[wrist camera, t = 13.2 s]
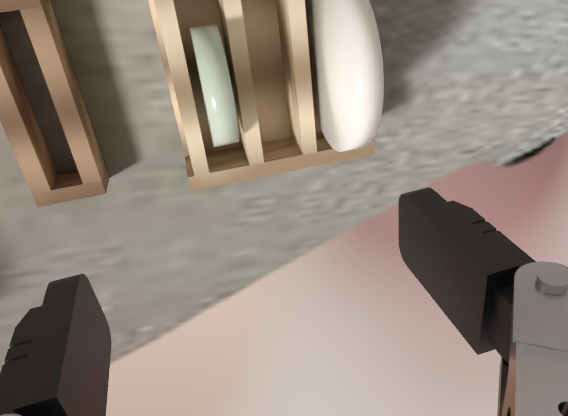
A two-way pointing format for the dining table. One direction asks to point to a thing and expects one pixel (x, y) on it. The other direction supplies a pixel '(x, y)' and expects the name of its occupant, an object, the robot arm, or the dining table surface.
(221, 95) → the saucer
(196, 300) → the dining table surface
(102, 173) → the stand
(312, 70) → the plate
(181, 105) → the rack
